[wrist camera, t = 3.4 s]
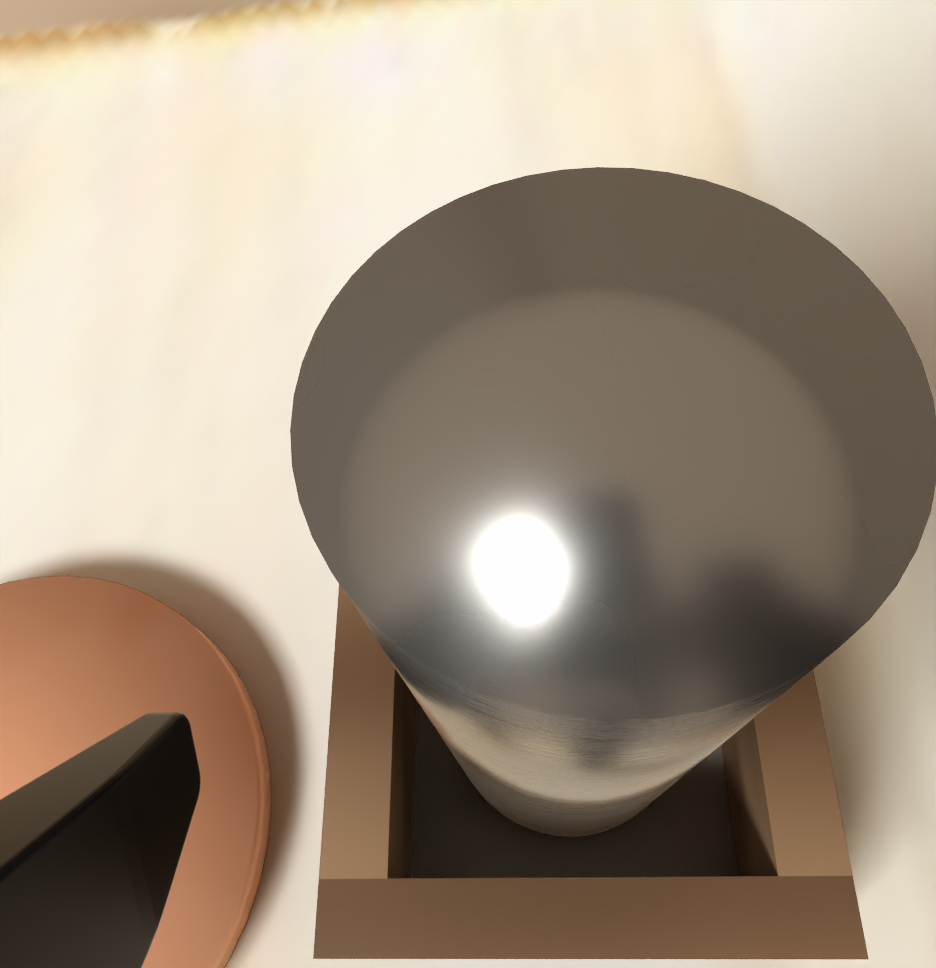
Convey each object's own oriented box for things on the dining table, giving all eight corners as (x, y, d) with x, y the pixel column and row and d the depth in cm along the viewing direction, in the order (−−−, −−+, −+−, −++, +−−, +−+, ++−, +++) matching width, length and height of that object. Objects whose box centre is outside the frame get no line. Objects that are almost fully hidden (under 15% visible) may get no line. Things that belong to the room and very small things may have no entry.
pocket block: (813, 948, 16) (868, 958, 13) (350, 947, 16) (313, 958, 14) (741, 519, 20) (772, 460, 17) (372, 532, 20) (346, 478, 18)
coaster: (-52, 1306, 14) (-91, 1333, 14) (-317, 859, 18) (-361, 857, 17) (375, 798, 18) (366, 793, 17) (74, 508, 21) (53, 491, 21)
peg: (586, 892, 17) (686, 894, 5) (405, 728, 18) (165, 443, 7) (725, 699, 18) (1057, 347, 6) (545, 564, 20) (549, 94, 8)
